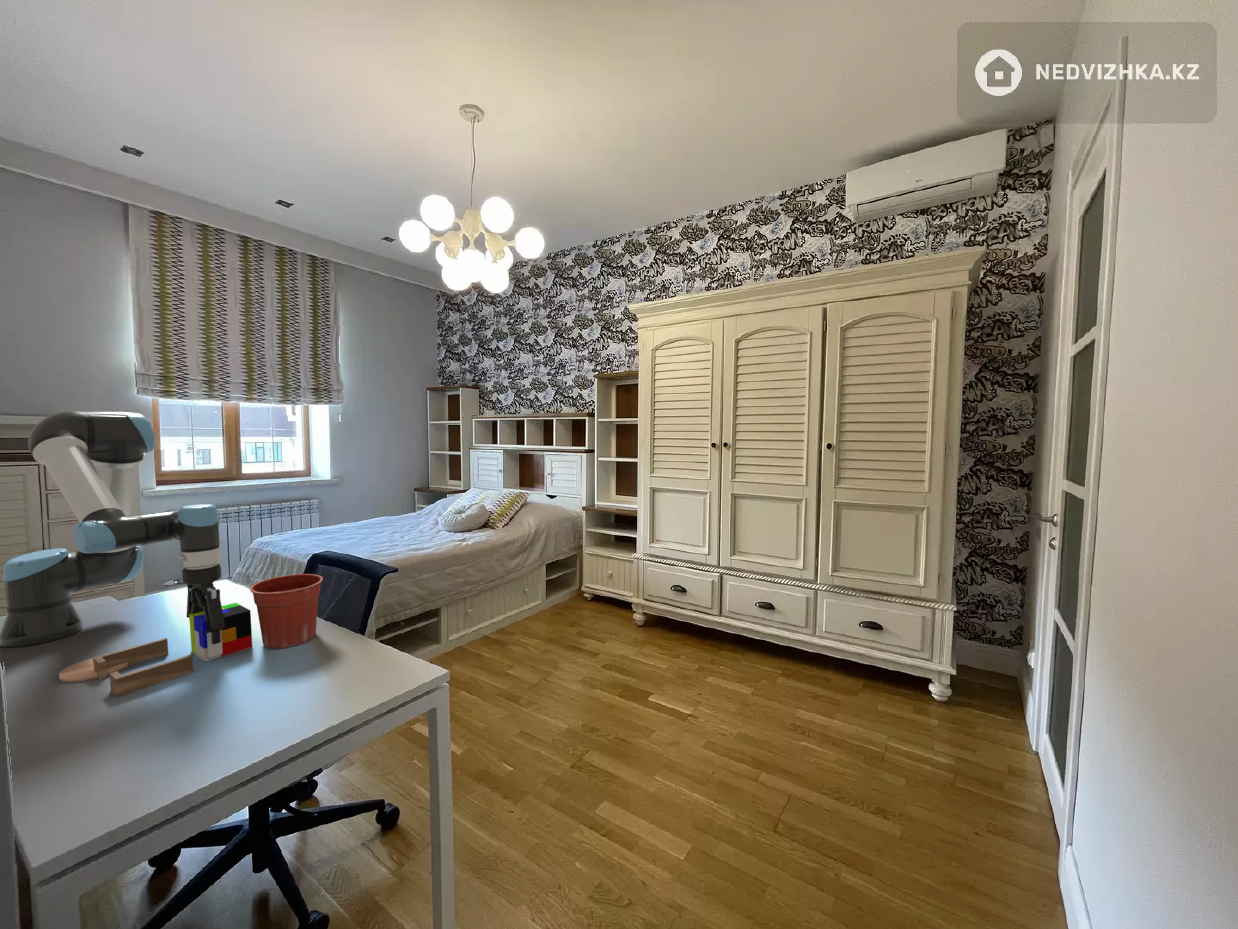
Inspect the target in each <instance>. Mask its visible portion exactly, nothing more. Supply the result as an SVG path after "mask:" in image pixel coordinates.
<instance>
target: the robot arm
mask: <svg viewBox="0 0 1238 929" xmlns="http://www.w3.org/2000/svg"><path fill="white" fill-rule="evenodd" d="M27 446H28V450H29V452H30V454H31V456H32V457H33V459H34V460H35V461H36V462H37V463H39V464H41V465H43V466H45V467H46V469H47V471H48V472H49V474H50V476H51V478H52V479H53V481H54V483H55V484H56V486H57V487H58V489H59V490H60V492H61V493H62V496H63V497H64V499H65V500H66V502H67V504H68V505H69V507H70V509H71V510H72V512H73V514H74V515H75V517H76V519H77V521H78V522H79V523H77V524H76V525H75V526H74V528H73V534H72V537H73V538H72V539H73V542H74V545H75V546H74V547H75V548H76V549H77V550H74V551H69V550H68V549H67V548H63V547H60V548H59V547H58V548H57V547H56V548H51V549H45V550H44V549H43V550H39V551H38V550H37V551H33V552H29V553H26V554H25V553H24V554H22V555H19V556H16V557H13V558H11V559H9V560H8V561H6V562H5V563H4V565H3V569H2V570H3V572H2V573H3V574H2V582H3V586H4V597H5V608H6V617H5V619H4V622H3V624H2V627H1V630H0V647H3V648H18V647H26V646H27V647H28V646H33V645H39V644H42V643H47V642H51V641H54V640H58V639H62V638H65V637H68V636H71V635H73V634H75V633H78V632H79V631H81V630H83V626H84V625H83V618H82V617H81V615H80V614H79V612H78V610H77V609H76V608H75V606H74V604H73V602H72V593H76V592H80V591H86V590H89V589H93V588H99V587H103V586H109V585H116V584H119V583H122V582H126V581H130V580H132V579H134V578H135V577H137V576H138V575H139V573H140V572H141V571H142V568H143V564H144V555H143V553H144V552H143V549H142V546H147V545H153V544H159V543H160V544H161V543H166V542H171V541H180V542H179V543H180V553H181V555H180V556H178V559H179V560H180V561H181V566H182V567H183V569H182V570H181V571H182V572H181V574H182V582H183V583H182V584H185V585H186V586H187V588H186V589H187V600H186V616H185V617H186V618H187V619H189V614H191V613H192V614H194V613H198V612H202V611H203V612H204V615H205V619H206V622H207V627H208V630H206V631H205V633H207V645H208V657H209V658H210V657H213V656H217V655H220V654H223V650H222V634H221V629H223V628H225V623H224V617H223V612H222V606H223V605H222V601H221V590H220V588H217V589H216V586H214V582H215V581H218V580H220V579H221V578H222V564H220V562H221V561H222V557H221V554H222V552H221V545H220V525H219V524H220V523H219V522H220V517H219V514H218V508H217V506H216V505H214V504H211V503H210V504H209V503H208V504H204V503H202V504H200V503H199V504H190V505H184V506H181V507H180V508H179V509H167V510H166V509H165V510H162V511H160V512H156V513H148V514H138V515H131V514H132V506H133V493H134V485H135V484H134V483H135V473H136V465H138V464H139V463H141V462H143V461H144V455H145V454H146V453H150V452H152V451H154V449H155V446H156V437H155V432H154V429H153V427H152V424H151V422H150V421H149V420H148V418H147V417H146V416H144V415H143V414H141V413H137V412H125V411H80V410H79V411H78V410H67V411H60V412H56V413H53V414H51V415H49V416H46V417H44V418H43V419H41V420H39V422H38V423H37V424H36V425H35V426H34V427H33V428H32V429H31V432H30V434H29V436H28V442H27ZM144 453H145V454H144ZM179 560H178V561H179ZM188 621H189V622H190V619H189V620H188ZM215 625H216V626H215Z"/></svg>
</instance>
